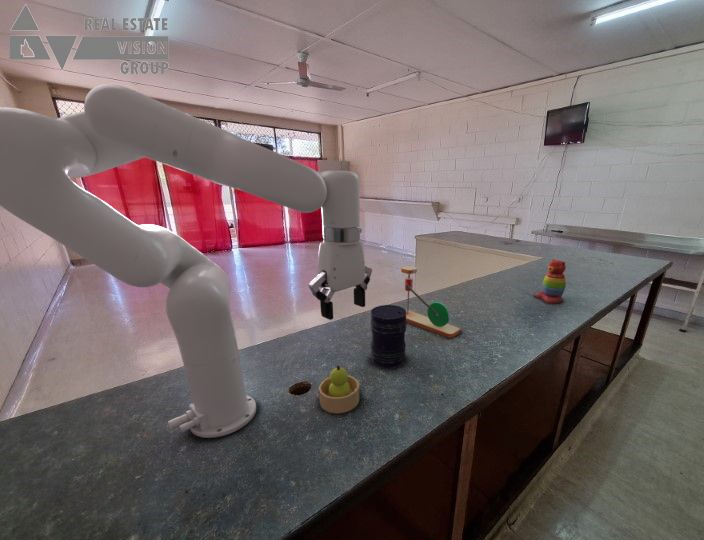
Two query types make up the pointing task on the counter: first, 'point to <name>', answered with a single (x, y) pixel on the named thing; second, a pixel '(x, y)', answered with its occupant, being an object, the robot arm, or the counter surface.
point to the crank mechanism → (428, 312)
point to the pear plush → (339, 383)
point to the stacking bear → (553, 283)
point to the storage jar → (388, 336)
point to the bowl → (339, 403)
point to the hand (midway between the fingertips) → (344, 311)
